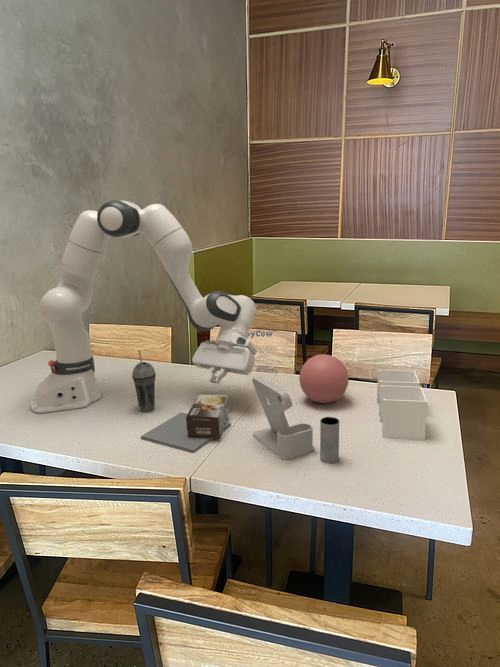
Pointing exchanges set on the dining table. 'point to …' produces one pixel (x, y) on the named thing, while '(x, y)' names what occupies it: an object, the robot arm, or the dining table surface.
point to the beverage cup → (144, 385)
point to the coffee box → (207, 416)
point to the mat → (177, 434)
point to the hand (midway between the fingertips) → (213, 382)
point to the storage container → (401, 404)
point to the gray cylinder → (329, 439)
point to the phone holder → (281, 423)
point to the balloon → (323, 378)
